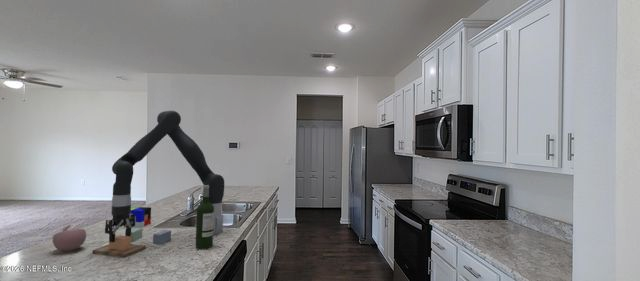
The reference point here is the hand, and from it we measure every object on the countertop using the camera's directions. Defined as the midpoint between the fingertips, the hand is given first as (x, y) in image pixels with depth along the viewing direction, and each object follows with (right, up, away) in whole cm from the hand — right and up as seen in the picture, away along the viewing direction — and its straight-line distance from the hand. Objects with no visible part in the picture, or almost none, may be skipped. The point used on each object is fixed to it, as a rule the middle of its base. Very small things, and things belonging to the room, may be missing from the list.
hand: (120, 239), depth 144 cm
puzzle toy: (-18, -6, +44) cm, 47 cm away
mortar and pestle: (-23, -5, -1) cm, 23 cm away
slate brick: (+12, -6, +15) cm, 20 cm away
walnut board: (0, -5, 0) cm, 5 cm away
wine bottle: (+35, -7, +9) cm, 37 cm away
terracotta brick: (0, -4, 0) cm, 4 cm away
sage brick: (-4, -6, +17) cm, 18 cm away
